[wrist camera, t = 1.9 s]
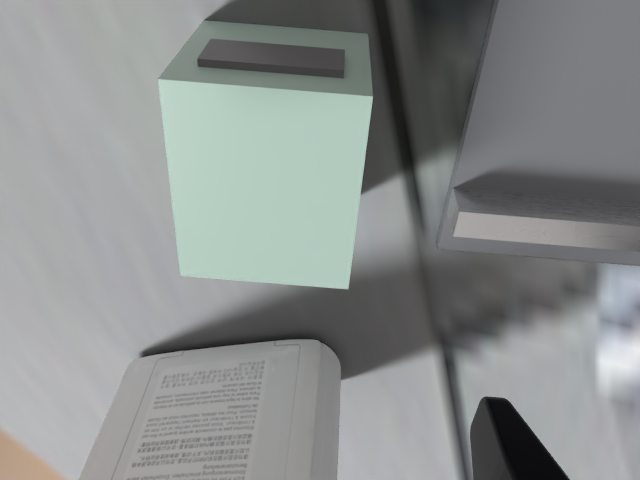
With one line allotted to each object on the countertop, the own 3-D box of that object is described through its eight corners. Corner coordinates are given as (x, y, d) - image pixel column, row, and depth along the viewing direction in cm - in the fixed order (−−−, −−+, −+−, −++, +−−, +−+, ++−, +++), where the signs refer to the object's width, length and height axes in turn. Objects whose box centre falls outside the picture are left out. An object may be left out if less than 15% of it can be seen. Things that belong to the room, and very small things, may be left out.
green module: (368, 25, 17) (374, 88, 13) (348, 198, 20) (347, 289, 16) (203, 12, 17) (156, 70, 13) (214, 188, 20) (180, 275, 16)
